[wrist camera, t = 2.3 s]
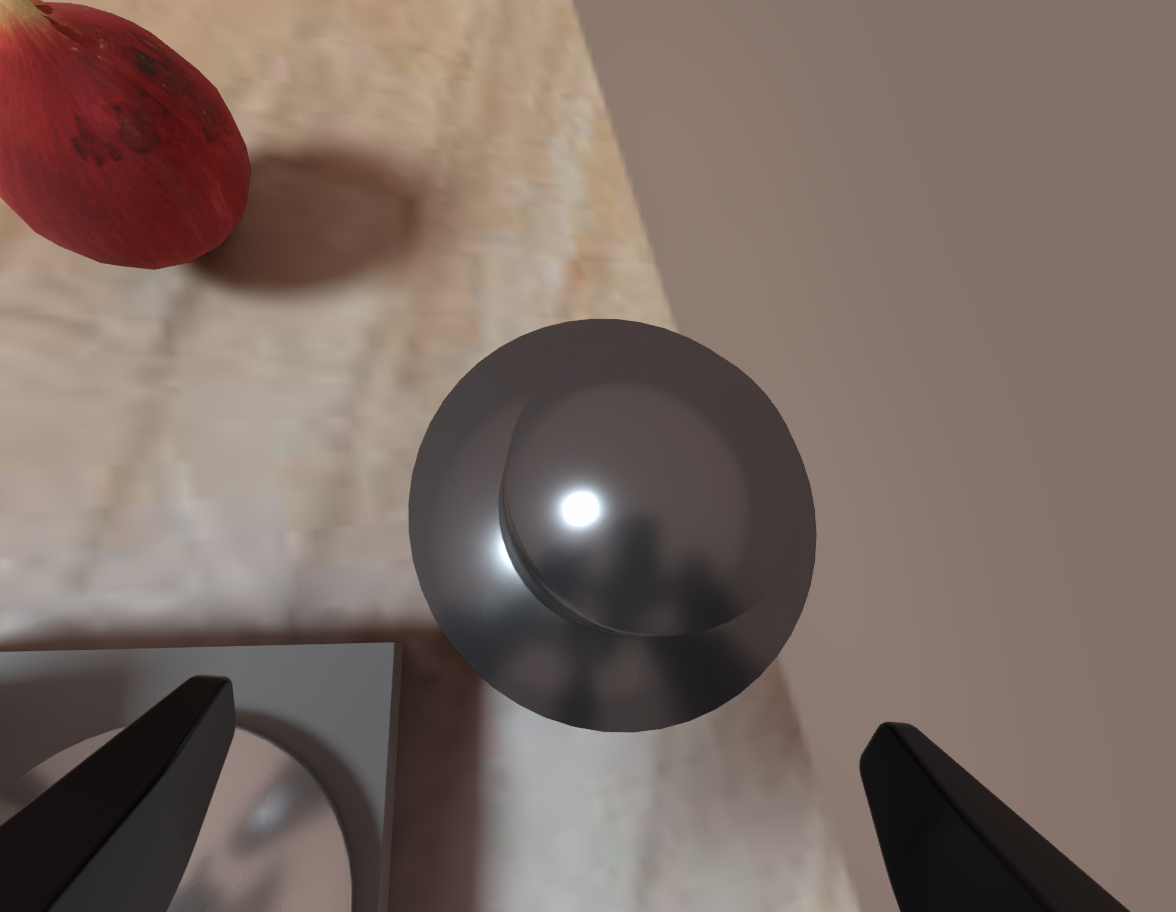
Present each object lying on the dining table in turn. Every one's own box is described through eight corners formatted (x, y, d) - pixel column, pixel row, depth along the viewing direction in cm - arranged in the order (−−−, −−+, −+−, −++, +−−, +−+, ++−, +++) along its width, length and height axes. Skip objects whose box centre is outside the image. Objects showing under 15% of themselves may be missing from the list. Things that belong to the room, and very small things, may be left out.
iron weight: (611, 672, 19) (932, 740, 6) (438, 678, 18) (375, 774, 5) (605, 506, 20) (856, 271, 7) (445, 504, 19) (411, 229, 6)
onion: (286, 168, 21) (188, -93, 14) (273, 322, 20) (155, 123, 12) (91, 153, 20) (-134, -141, 12) (61, 315, 18) (-216, 90, 11)
